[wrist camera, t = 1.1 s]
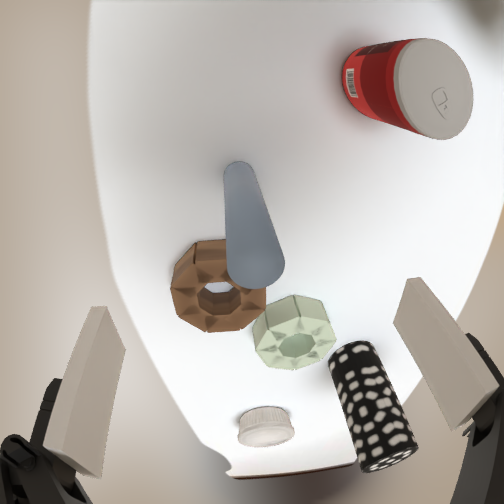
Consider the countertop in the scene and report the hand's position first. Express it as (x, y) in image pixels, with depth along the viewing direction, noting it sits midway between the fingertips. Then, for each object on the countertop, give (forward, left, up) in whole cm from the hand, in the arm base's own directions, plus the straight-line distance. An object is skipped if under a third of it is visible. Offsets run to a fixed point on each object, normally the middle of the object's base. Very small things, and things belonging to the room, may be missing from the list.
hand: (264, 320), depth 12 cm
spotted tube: (-17, +31, -20) cm, 41 cm away
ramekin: (-2, +48, -20) cm, 52 cm away
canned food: (-14, -10, -20) cm, 27 cm away
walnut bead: (+3, +12, -20) cm, 23 cm away
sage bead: (-6, +21, -20) cm, 30 cm away
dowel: (0, 0, -20) cm, 20 cm away
